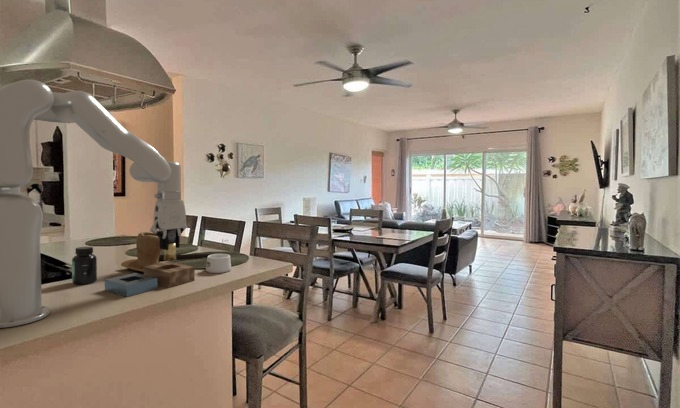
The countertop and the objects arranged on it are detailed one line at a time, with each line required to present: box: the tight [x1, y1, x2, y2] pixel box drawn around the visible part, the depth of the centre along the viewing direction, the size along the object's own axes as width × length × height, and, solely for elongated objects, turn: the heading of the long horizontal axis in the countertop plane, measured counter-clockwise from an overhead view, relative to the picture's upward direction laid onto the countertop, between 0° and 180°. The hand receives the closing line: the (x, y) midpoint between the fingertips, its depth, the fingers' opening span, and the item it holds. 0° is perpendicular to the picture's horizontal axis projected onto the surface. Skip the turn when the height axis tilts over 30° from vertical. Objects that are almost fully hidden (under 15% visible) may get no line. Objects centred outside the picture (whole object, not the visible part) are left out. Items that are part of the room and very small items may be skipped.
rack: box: [143, 261, 196, 288], centre depth 126 cm, size 10×14×5 cm
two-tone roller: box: [163, 229, 177, 262], centre depth 125 cm, size 4×4×12 cm
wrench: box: [159, 253, 213, 263], centre depth 155 cm, size 5×5×30 cm
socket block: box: [104, 272, 158, 298], centre depth 115 cm, size 10×12×4 cm
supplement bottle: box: [71, 246, 98, 286], centre depth 120 cm, size 7×7×12 cm
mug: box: [205, 253, 232, 274], centre depth 142 cm, size 12×10×6 cm
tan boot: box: [120, 231, 163, 273], centre depth 139 cm, size 15×12×15 cm
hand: (169, 247), depth 125 cm, fingers closed on two-tone roller, 4 cm apart
